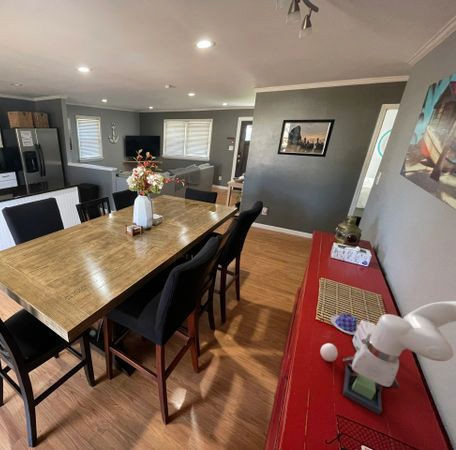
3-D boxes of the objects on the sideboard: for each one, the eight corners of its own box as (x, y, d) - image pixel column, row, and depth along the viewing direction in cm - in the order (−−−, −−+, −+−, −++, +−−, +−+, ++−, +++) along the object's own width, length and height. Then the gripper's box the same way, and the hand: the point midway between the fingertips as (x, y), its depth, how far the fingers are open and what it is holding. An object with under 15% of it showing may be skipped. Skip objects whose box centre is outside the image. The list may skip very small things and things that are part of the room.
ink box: (372, 360, 95) (384, 338, 91) (357, 355, 97) (368, 334, 92) (365, 344, 103) (375, 323, 98) (351, 340, 104) (360, 319, 100)
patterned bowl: (341, 314, 119) (344, 305, 117) (367, 332, 109) (372, 323, 107) (324, 319, 115) (327, 311, 113) (350, 339, 105) (354, 330, 103)
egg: (317, 351, 99) (322, 337, 96) (332, 356, 97) (338, 342, 94) (319, 362, 94) (325, 348, 91) (335, 367, 92) (342, 353, 89)
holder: (377, 374, 90) (379, 371, 89) (379, 414, 77) (382, 410, 76) (345, 359, 95) (347, 356, 94) (343, 394, 82) (345, 390, 82)
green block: (370, 385, 85) (375, 377, 83) (371, 399, 80) (375, 392, 79) (352, 376, 88) (356, 368, 86) (351, 389, 83) (355, 382, 82)
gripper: (348, 342, 79) (331, 379, 86) (421, 375, 69) (395, 413, 76) (349, 329, 85) (333, 365, 92) (417, 357, 75) (393, 394, 82)
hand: (361, 386), depth 84 cm, fingers closed on green block, 5 cm apart
